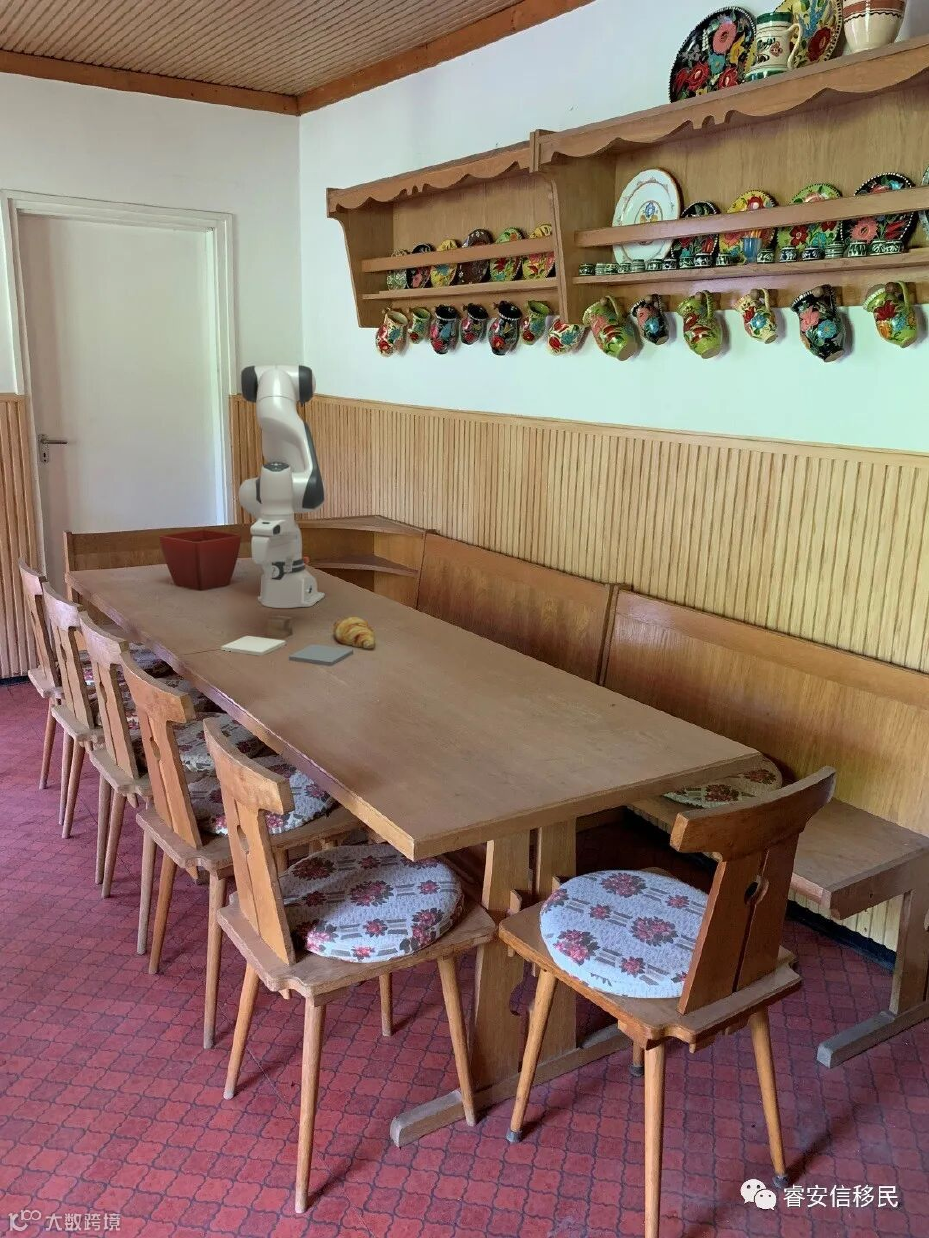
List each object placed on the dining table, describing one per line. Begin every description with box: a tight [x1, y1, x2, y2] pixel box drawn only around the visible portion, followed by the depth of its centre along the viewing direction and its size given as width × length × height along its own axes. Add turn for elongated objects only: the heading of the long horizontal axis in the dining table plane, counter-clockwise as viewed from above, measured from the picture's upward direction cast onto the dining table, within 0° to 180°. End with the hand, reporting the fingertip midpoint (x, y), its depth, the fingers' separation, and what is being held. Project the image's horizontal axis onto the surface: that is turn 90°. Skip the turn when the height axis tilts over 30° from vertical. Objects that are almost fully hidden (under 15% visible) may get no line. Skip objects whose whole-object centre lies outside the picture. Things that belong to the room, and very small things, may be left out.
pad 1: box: [220, 635, 287, 657], centre depth 264 cm, size 12×12×1 cm
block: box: [266, 614, 293, 640], centre depth 275 cm, size 5×5×5 cm
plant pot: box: [159, 529, 242, 591], centre depth 332 cm, size 19×19×17 cm
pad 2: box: [288, 643, 354, 667], centre depth 257 cm, size 12×12×1 cm
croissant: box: [333, 615, 376, 650], centre depth 272 cm, size 21×10×8 cm, turn 34°
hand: (278, 575), depth 272 cm, fingers open, 8 cm apart
